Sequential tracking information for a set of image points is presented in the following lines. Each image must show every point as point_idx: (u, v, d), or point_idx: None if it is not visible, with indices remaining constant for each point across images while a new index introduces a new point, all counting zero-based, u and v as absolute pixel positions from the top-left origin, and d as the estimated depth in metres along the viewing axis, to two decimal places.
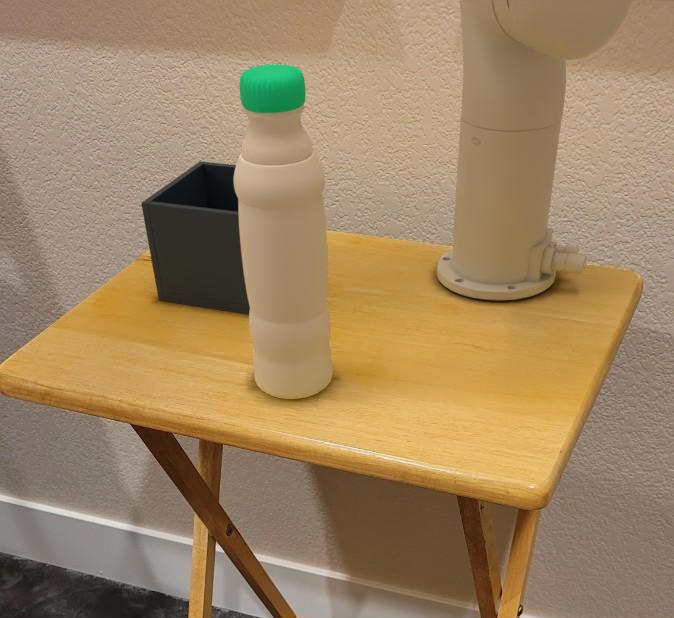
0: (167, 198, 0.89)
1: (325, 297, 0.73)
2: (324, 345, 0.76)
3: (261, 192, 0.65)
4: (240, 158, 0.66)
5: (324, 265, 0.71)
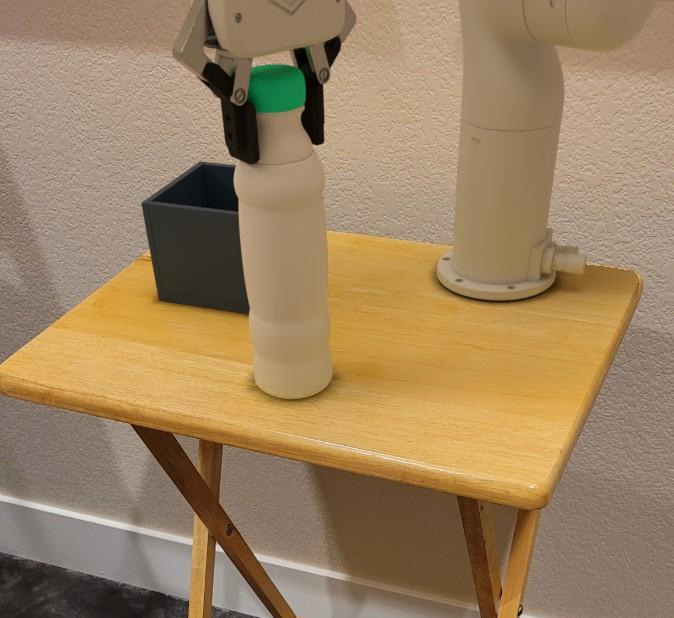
0: (167, 198, 0.89)
1: (325, 297, 0.73)
2: (324, 345, 0.76)
3: (261, 192, 0.65)
4: None
5: (324, 265, 0.71)
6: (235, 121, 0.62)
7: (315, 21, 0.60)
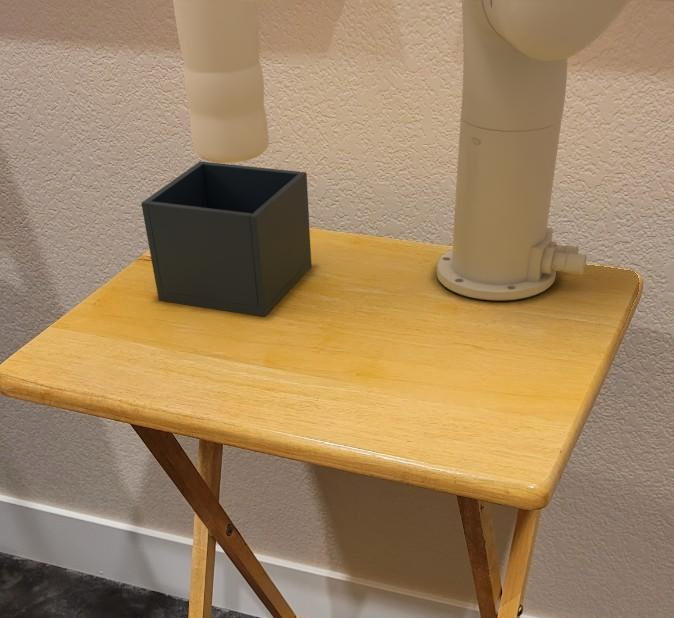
0: (167, 198, 0.89)
1: (256, 49, 0.76)
2: (258, 104, 0.78)
3: None
4: None
5: (254, 11, 0.73)
6: None
7: None
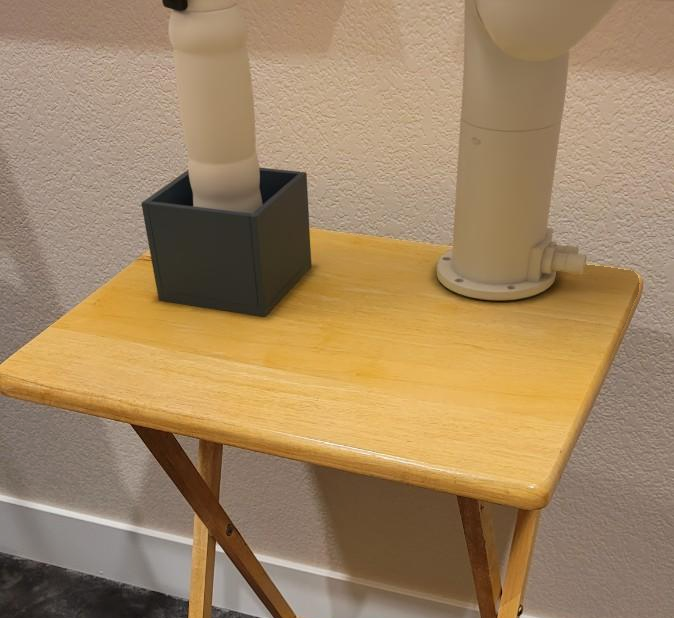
0: (167, 198, 0.89)
1: (252, 142, 0.84)
2: (254, 189, 0.87)
3: (190, 37, 0.76)
4: None
5: (250, 111, 0.82)
6: None
7: None
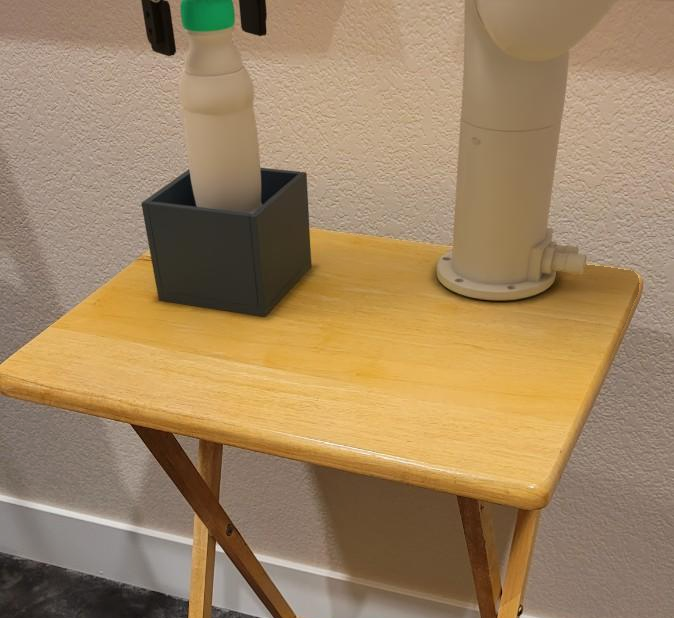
0: (167, 198, 0.89)
1: (258, 195, 0.88)
2: None
3: (200, 99, 0.80)
4: (183, 72, 0.81)
5: (256, 166, 0.86)
6: (153, 17, 0.75)
7: None
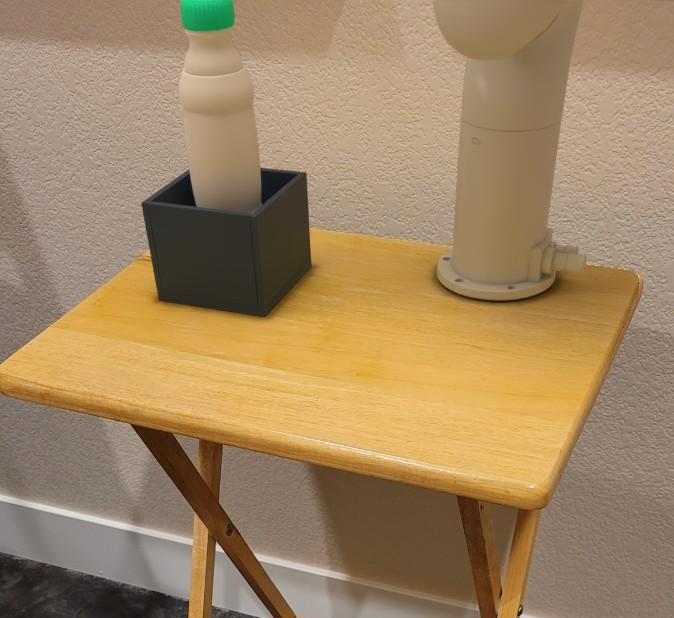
0: (167, 198, 0.89)
1: (258, 195, 0.88)
2: None
3: (200, 99, 0.80)
4: (183, 72, 0.81)
5: (256, 166, 0.86)
6: None
7: None
